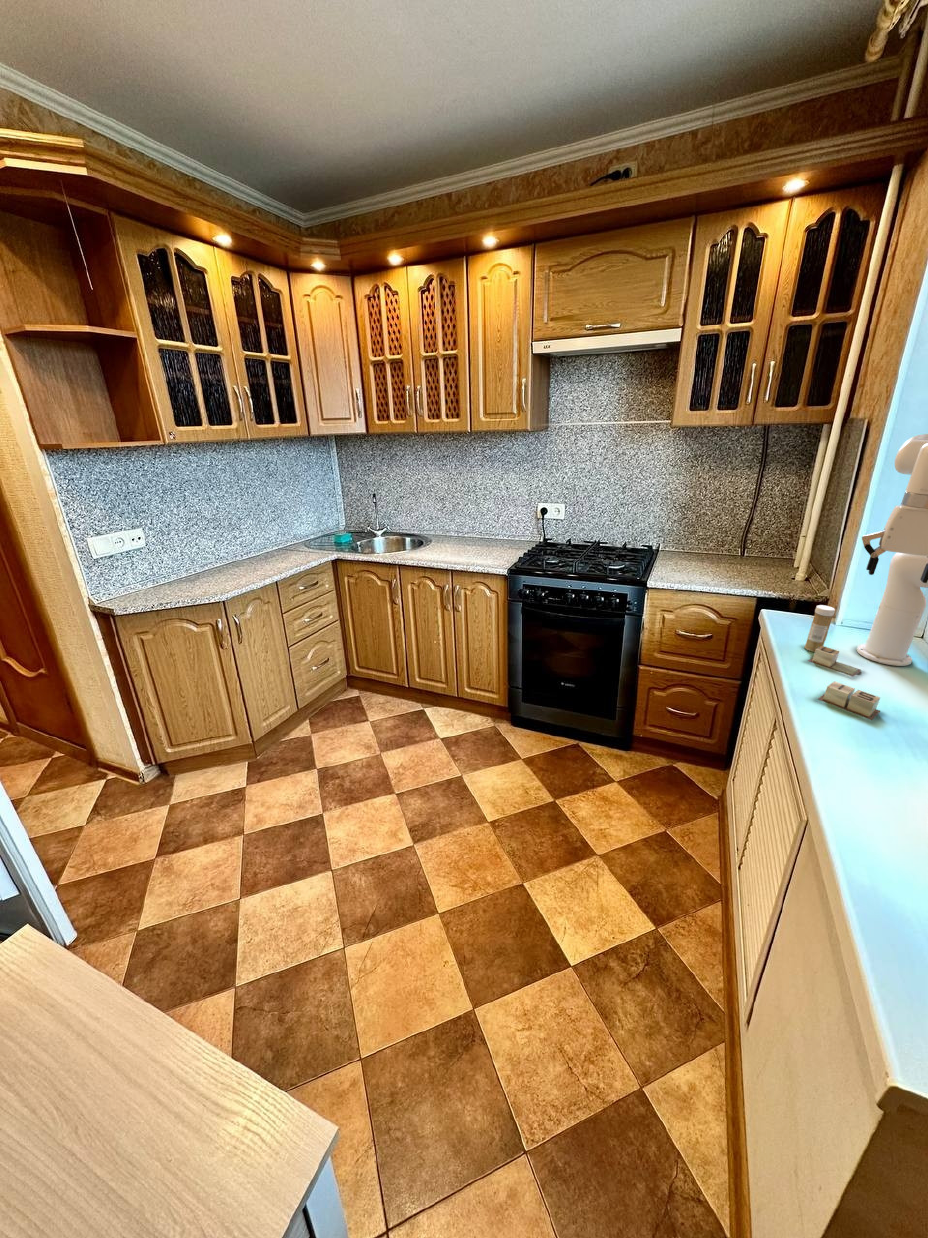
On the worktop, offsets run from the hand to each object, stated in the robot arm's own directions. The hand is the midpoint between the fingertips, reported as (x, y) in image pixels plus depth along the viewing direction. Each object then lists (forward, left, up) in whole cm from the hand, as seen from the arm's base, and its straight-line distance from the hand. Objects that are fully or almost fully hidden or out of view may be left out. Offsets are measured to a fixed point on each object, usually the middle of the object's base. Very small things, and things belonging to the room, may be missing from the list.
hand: (896, 577), depth 117 cm
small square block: (+11, +4, -29) cm, 32 cm away
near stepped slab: (+11, +2, -30) cm, 32 cm away
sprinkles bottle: (-18, -16, -30) cm, 39 cm away
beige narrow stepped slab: (-10, -8, -30) cm, 33 cm away
